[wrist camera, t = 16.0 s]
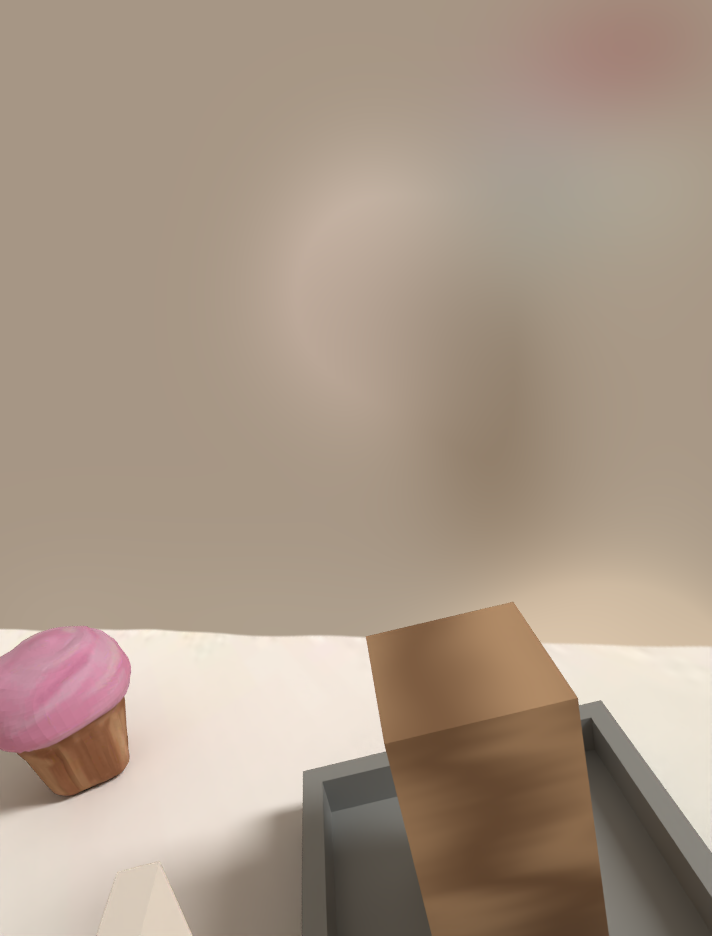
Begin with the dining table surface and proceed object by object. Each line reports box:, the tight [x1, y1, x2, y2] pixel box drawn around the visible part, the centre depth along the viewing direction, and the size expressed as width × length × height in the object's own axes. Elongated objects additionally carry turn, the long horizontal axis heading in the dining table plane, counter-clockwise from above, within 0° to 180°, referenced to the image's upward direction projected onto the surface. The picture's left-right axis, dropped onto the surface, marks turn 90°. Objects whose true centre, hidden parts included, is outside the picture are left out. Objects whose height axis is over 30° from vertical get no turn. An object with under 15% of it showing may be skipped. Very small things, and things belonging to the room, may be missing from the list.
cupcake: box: [0, 626, 131, 796], centre depth 38 cm, size 9×9×10 cm
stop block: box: [366, 602, 609, 936], centre depth 23 cm, size 6×6×12 cm
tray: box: [302, 700, 712, 936], centre depth 24 cm, size 16×16×3 cm
